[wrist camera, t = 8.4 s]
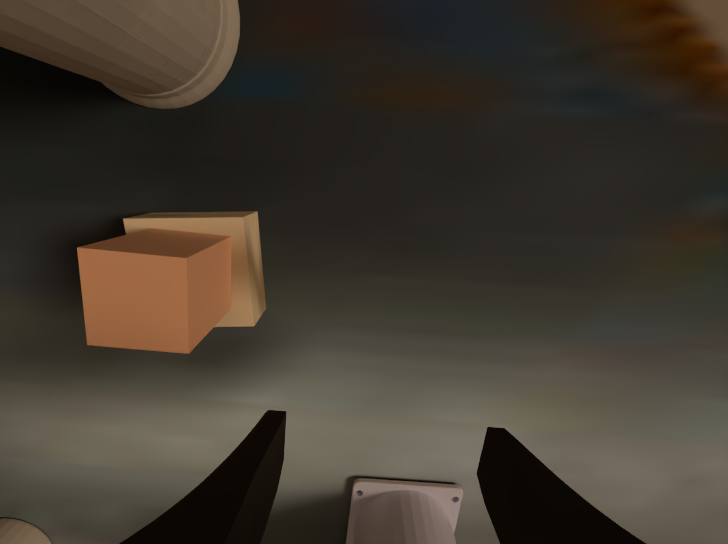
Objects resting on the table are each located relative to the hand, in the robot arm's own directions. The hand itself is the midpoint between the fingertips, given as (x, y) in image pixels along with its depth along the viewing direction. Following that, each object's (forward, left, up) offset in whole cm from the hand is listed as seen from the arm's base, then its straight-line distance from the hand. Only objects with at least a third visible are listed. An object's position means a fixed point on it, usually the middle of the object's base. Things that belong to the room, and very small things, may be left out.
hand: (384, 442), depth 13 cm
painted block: (+3, +10, -8) cm, 13 cm away
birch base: (+3, +10, -11) cm, 15 cm away
